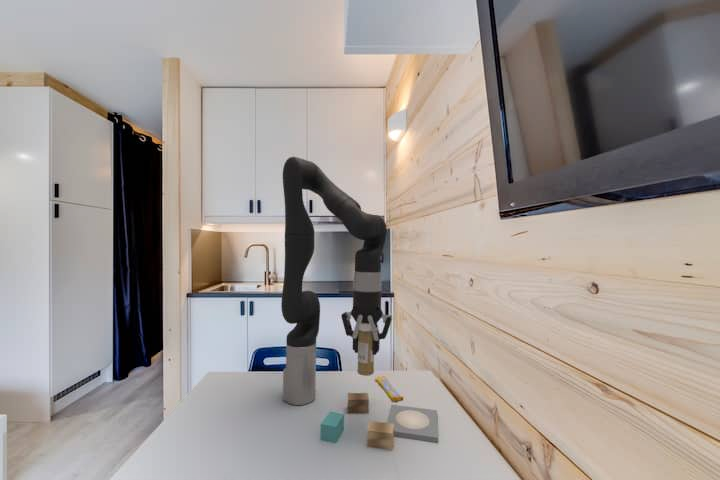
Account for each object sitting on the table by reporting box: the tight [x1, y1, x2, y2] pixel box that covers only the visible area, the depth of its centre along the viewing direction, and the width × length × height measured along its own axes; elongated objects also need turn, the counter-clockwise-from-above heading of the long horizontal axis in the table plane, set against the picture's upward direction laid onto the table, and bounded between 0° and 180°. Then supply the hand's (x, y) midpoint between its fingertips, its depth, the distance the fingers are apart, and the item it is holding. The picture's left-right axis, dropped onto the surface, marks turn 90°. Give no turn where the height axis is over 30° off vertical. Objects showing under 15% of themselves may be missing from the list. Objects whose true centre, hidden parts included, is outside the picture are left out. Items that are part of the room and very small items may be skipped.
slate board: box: [386, 403, 439, 444], centre depth 82 cm, size 13×13×1 cm
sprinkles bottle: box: [356, 323, 375, 377], centre depth 81 cm, size 5×5×13 cm
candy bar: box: [374, 375, 404, 403], centre depth 102 cm, size 17×4×2 cm, turn 16°
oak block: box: [366, 420, 395, 451], centre depth 74 cm, size 6×4×4 cm, turn 79°
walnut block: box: [347, 392, 370, 414], centre depth 89 cm, size 6×4×4 cm, turn 92°
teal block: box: [320, 411, 345, 444], centre depth 77 cm, size 4×6×4 cm, turn 163°
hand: (365, 352), depth 81 cm, fingers closed on sprinkles bottle, 4 cm apart
